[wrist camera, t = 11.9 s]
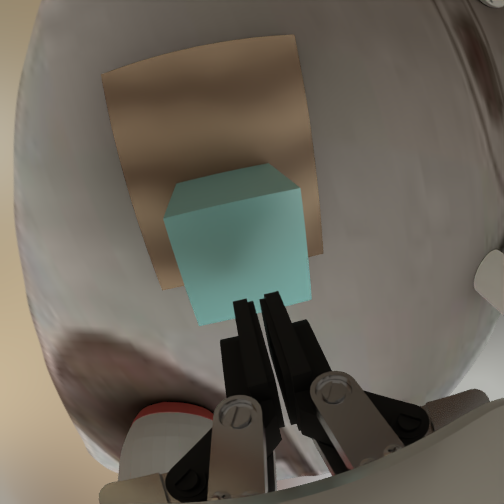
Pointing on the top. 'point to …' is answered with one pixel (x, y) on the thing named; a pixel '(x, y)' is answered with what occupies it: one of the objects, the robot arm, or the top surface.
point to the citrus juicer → (162, 438)
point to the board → (210, 128)
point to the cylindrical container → (491, 279)
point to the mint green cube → (239, 240)
